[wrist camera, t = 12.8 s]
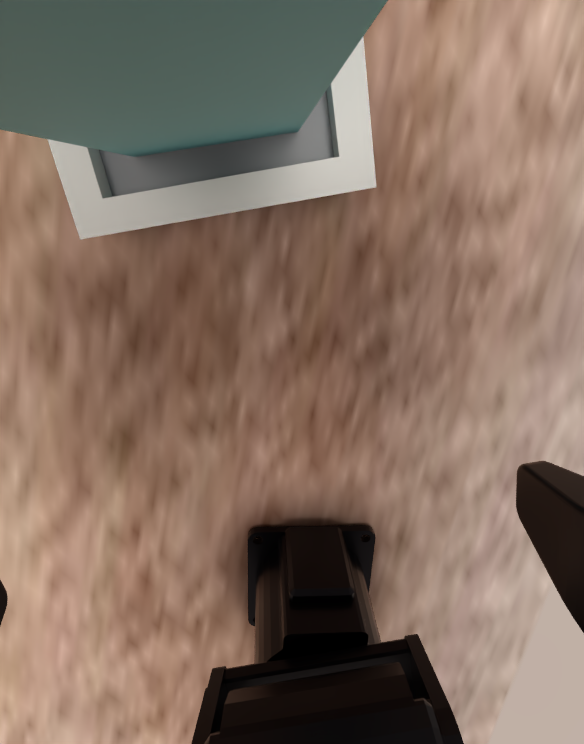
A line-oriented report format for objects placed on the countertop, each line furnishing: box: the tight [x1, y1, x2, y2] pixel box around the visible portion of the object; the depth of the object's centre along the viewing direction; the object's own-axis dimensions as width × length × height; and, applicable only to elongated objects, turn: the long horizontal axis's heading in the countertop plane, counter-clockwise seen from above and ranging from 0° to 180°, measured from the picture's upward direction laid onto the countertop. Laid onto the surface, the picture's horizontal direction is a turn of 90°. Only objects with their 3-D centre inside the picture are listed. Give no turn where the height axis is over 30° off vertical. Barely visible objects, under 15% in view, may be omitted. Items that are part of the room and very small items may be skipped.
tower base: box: [48, 37, 376, 239], centre depth 14 cm, size 9×9×4 cm
